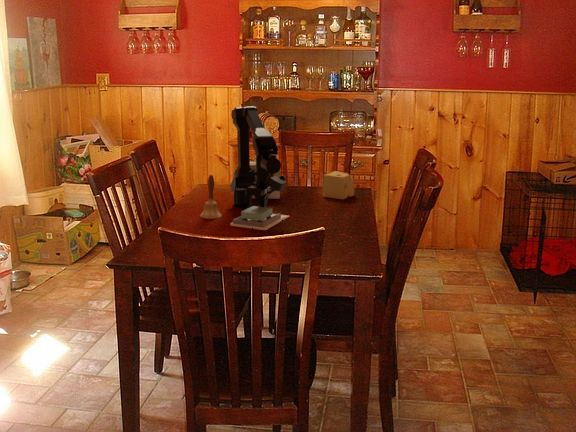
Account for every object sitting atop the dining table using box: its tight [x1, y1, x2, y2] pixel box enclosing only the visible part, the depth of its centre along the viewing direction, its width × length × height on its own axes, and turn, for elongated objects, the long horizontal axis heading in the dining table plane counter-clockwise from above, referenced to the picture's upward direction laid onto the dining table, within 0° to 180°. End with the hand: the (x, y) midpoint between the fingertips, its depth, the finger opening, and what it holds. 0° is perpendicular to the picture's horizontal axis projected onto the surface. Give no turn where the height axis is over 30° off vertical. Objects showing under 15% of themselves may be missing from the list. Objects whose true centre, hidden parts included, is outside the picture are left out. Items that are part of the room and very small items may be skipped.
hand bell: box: [199, 174, 223, 220], centre depth 263 cm, size 8×8×16 cm
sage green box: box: [240, 205, 274, 222], centre depth 254 cm, size 8×10×4 cm
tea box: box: [250, 161, 281, 200], centre depth 298 cm, size 15×10×15 cm
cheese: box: [322, 170, 355, 200], centre depth 302 cm, size 10×11×10 cm
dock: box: [229, 212, 290, 231], centre depth 259 cm, size 14×22×2 cm, turn 157°
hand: (263, 210), depth 260 cm, fingers closed
